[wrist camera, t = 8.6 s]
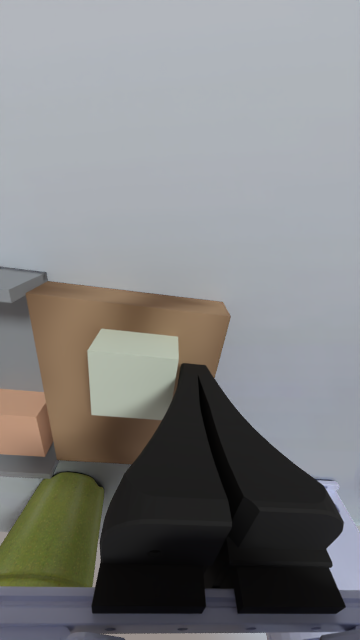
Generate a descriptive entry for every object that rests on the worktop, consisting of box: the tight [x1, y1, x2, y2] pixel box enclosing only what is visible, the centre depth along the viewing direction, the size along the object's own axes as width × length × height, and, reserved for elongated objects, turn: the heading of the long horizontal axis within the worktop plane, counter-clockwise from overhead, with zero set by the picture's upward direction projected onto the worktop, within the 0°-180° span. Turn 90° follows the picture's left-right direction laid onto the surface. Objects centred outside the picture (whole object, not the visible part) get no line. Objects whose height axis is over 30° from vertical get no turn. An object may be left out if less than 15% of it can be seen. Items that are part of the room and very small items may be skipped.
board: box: [25, 281, 231, 464], centre depth 14 cm, size 10×13×2 cm
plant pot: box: [0, 472, 104, 587], centre depth 17 cm, size 9×9×9 cm
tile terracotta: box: [0, 389, 53, 457], centre depth 15 cm, size 4×4×2 cm
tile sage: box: [87, 329, 179, 420], centre depth 11 cm, size 4×4×2 cm
